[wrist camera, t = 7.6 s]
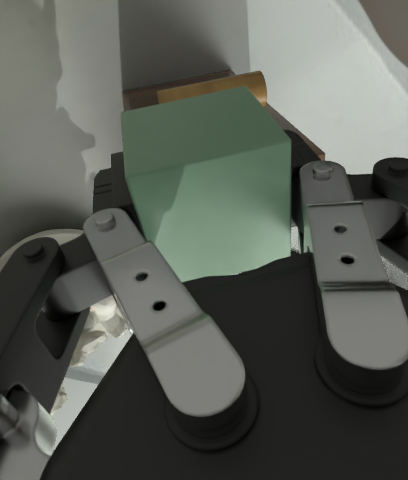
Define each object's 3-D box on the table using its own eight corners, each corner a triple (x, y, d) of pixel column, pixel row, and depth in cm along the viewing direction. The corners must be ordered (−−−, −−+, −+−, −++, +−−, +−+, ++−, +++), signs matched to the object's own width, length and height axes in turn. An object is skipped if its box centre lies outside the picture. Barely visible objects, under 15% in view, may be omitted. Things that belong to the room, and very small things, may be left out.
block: (149, 214, 16) (161, 292, 13) (119, 111, 13) (124, 176, 10) (253, 191, 16) (291, 261, 13) (246, 84, 13) (292, 139, 10)
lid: (325, 165, 24) (328, 68, 21) (129, 207, 23) (101, 113, 20) (252, 97, 37) (247, 31, 34) (125, 123, 36) (108, 58, 33)
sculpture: (20, 336, 61) (-35, 510, 40) (-33, 225, 51) (-145, 383, 30) (154, 311, 63) (169, 464, 42) (130, 199, 53) (134, 329, 32)
